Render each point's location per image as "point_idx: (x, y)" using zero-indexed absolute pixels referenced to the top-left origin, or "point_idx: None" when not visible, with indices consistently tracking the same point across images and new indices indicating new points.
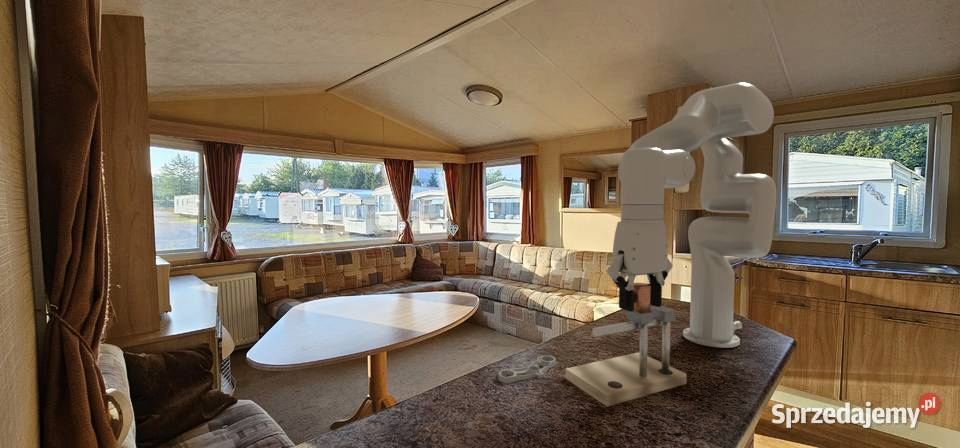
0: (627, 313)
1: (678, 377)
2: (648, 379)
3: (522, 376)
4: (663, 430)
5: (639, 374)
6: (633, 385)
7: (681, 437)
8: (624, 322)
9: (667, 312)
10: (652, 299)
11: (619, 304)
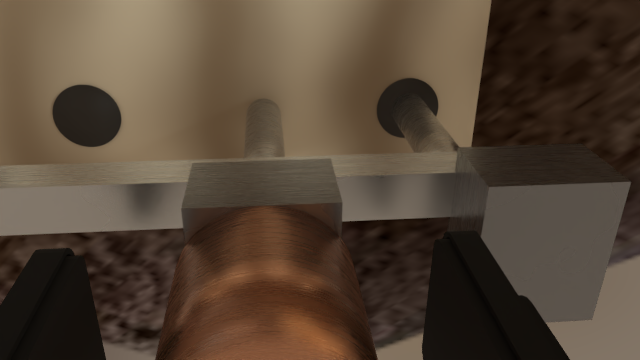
0: (186, 191)
1: None
2: None
3: None
4: (119, 311)
5: (246, 112)
6: (168, 148)
7: (144, 345)
8: (135, 187)
9: None
10: (442, 340)
11: (29, 270)
